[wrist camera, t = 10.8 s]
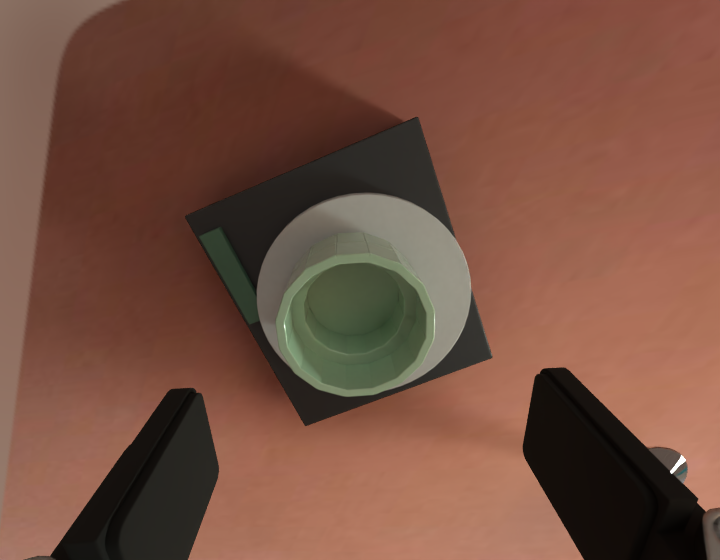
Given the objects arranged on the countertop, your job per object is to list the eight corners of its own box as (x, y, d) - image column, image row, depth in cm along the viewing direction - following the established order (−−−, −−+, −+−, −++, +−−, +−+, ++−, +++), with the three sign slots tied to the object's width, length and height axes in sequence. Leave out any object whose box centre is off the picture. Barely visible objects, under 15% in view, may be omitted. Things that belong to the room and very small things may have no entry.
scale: (204, 208, 21) (177, 219, 18) (407, 121, 20) (421, 114, 17) (308, 397, 26) (304, 435, 23) (476, 335, 25) (498, 365, 22)
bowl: (283, 234, 18) (266, 258, 14) (414, 226, 18) (437, 248, 14) (297, 349, 21) (285, 401, 16) (413, 341, 21) (432, 391, 16)
